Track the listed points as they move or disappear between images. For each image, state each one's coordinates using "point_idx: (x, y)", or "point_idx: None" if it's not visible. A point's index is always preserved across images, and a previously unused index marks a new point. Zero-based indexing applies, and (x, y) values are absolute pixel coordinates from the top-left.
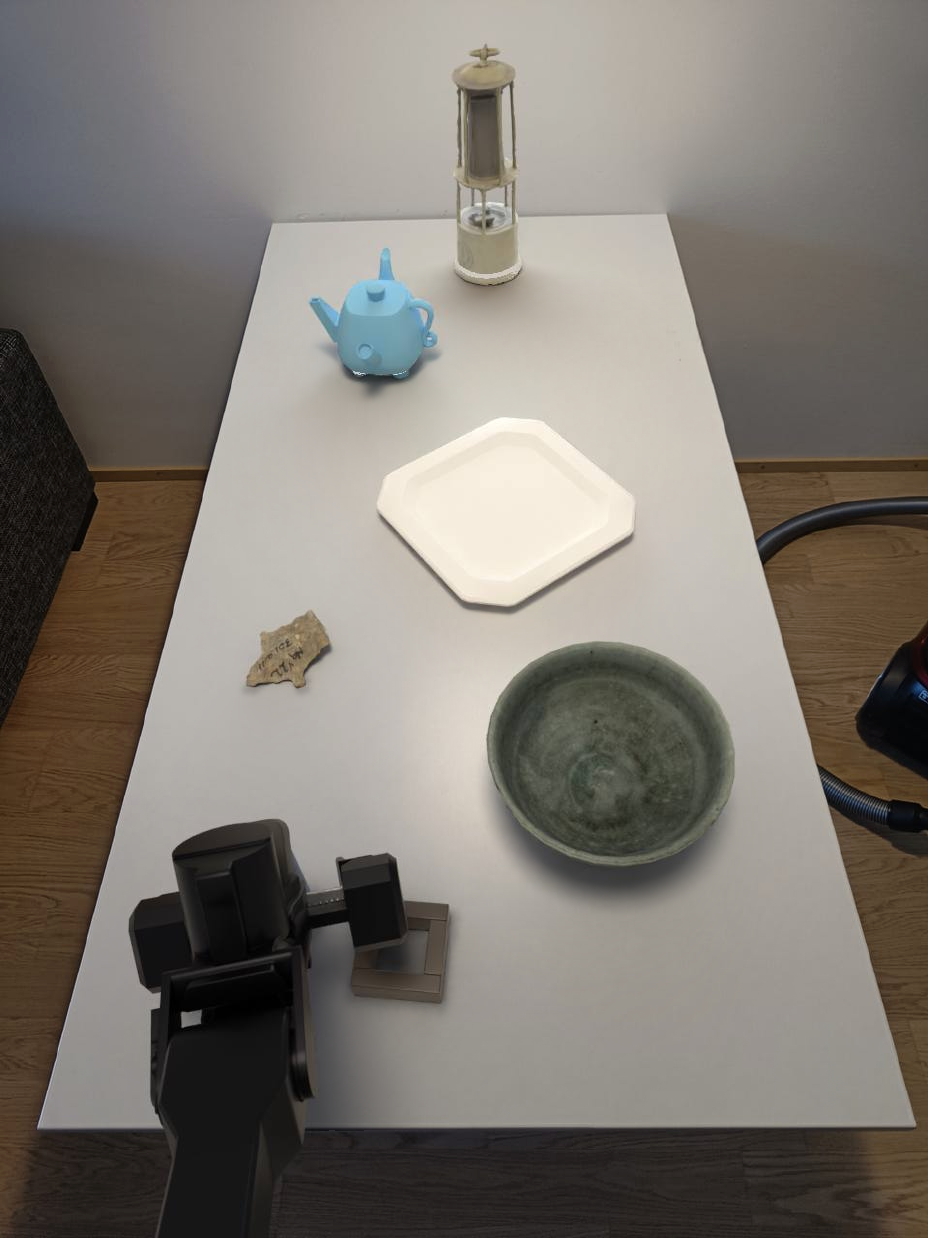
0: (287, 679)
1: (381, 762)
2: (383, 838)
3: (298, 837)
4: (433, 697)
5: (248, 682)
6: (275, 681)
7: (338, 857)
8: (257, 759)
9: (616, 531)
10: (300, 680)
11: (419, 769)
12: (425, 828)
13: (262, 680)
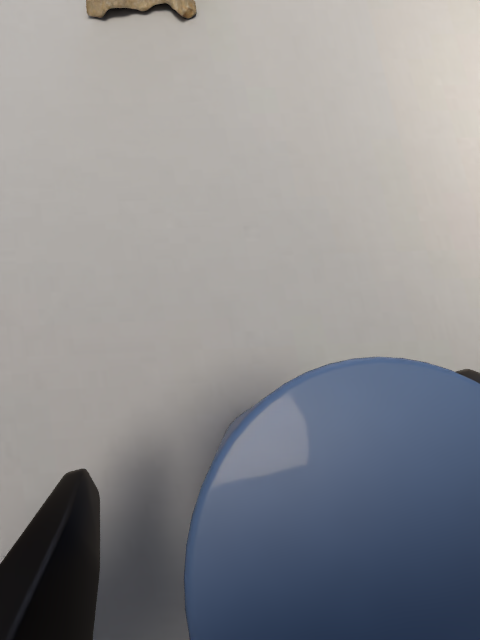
0: (162, 3)
1: (362, 145)
2: (397, 285)
3: (231, 289)
4: (428, 35)
5: (90, 6)
6: (141, 6)
7: (468, 374)
8: (127, 145)
9: None
10: (187, 2)
11: (434, 156)
12: (472, 263)
13: (116, 1)
